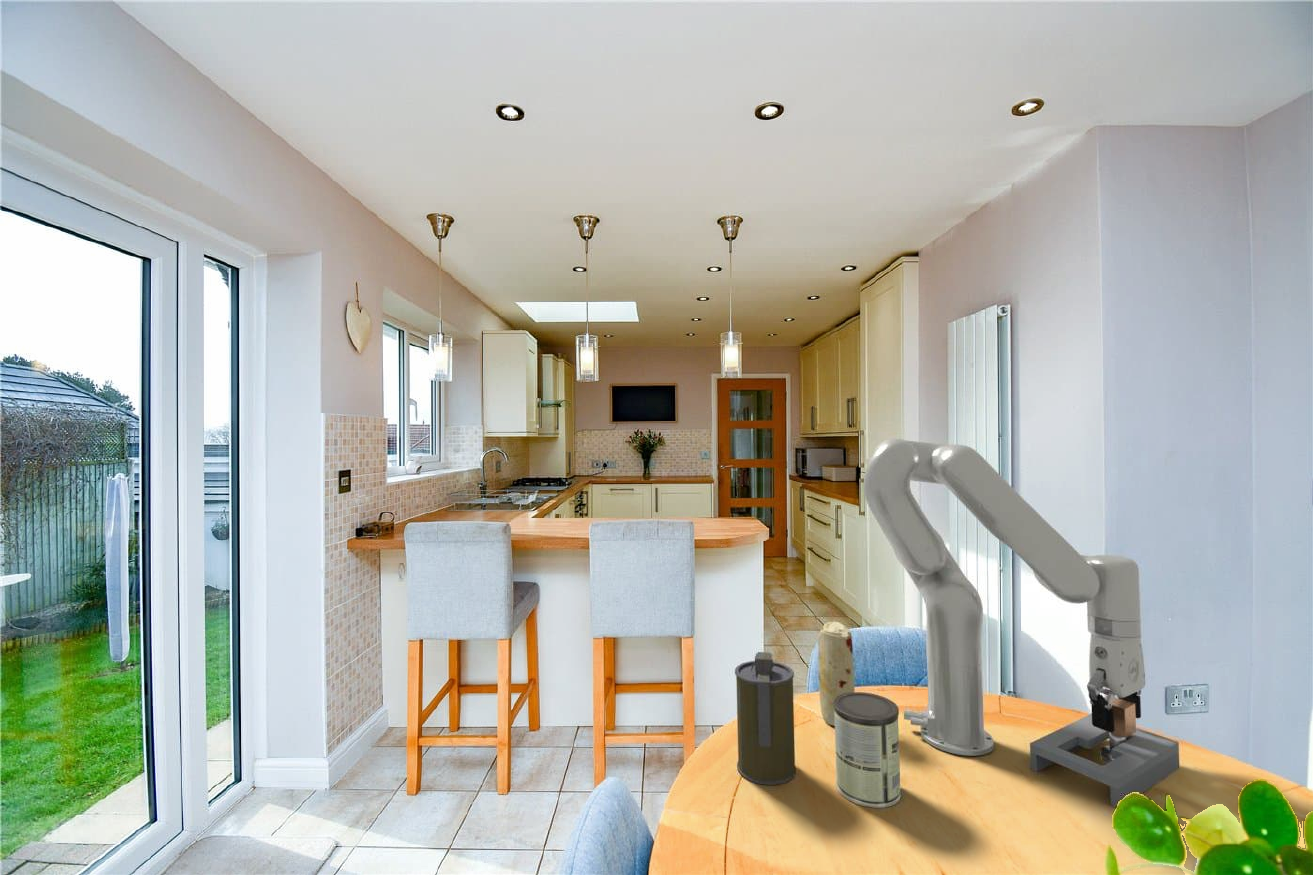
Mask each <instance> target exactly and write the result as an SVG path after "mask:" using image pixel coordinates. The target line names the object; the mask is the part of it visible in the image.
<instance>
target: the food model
mask: <svg viewBox="0 0 1313 875" xmlns="http://www.w3.org/2000/svg"><path fill="white" fill-rule="evenodd" d="M817 646H818V650H817V653H818V658H817V659H818V660H817V661H818V684H819V685H818V687H819V688H818V689H819V702H820V712H821V716H822V719H823V720H824V722H825V723H826V724H828V725H829V726H833V727H835V716H834V706H833V701H834V699H835V698H836V697H837V696H839V695H841V694H845V693H851V692H855V666H854V652H853V651H854V650H853V638H852V632H851V631H850V629H849V628H848V627H847V626H846V625H844V624H842V623H841V622H838V621H829V622H826V623H824V624H823V628H822V629H820V631H819V633H818V638H817Z"/></svg>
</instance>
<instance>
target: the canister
mask: <svg viewBox="0 0 1313 875" xmlns="http://www.w3.org/2000/svg"><path fill="white" fill-rule="evenodd" d="M734 674H735V678H736V681H735V682H736V715H737V716H736V718H737V752H738V753H737V755H738V756H737V757H738V761H737V762H736V768H737V771H738V773H739V774H740V775H741V776H742V777H743V778H745V779H746V780H748V781H750V782H753V783H756V784H759V785H766V786H781V785H782V784H786V783H789V782H790V781H791V780H793V779H794V778H795V776H796V774H797V766H796V758H795V757H796V754H795V752H796V749H795V748H796V747H795V716H794V713H795V712H794V711H795V710H794V708H795V707H794V677H795V672H794V670H793V669H792V668H791V667H790V666H788V665H786V664H784V663H780V662H777V661H774V659H773V654H771V652H766V651H765V652H764V651H762V652H761V651H758V652H756V653H755V655H754V660H749V661H746V662H742V663H740V664H739V665H737V666H736V668H734Z"/></svg>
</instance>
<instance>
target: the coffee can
mask: <svg viewBox="0 0 1313 875" xmlns="http://www.w3.org/2000/svg"><path fill="white" fill-rule="evenodd" d="M833 706H834V716H835V726H834V738H835V739H834V740H835V745H834V746H835V769H836V775H835V776H836V782H835V786H836V789H837V791H838V792H839V793H840V794H841V796H842V797H844V798H845V799H846V800H848V801H850V802H851V803H854V804H856V805H859V806H863V807H867V808H874V809H875V808H876V809H882V808H883V809H884V808H890V807H893V806H894V805H896V804H898V802H899V801H900V800H901V798H902V793H901V792H902V790H901V768H900V766H901V764H900V741H899V740H900V736H899V735H900V734H899V713H900V709H899V707H898V705H897V704H896V703H895V702H894V701H893V700H891V699H889V698H888V697H884V696H882V695H879V694H876V693H872V692H871V693H870V692H861V691H858V692H857V691H854V692H851V693H845V694H841V695H839V696H837V697H836V698H835V699H834V701H833Z"/></svg>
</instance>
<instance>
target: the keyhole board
mask: <svg viewBox="0 0 1313 875" xmlns="http://www.w3.org/2000/svg"><path fill="white" fill-rule="evenodd" d="M1107 740H1109V732H1107V731H1105V730H1102V729H1099V728H1097V727H1095V726H1093V725H1092V713H1090V714H1088V715H1086V716H1084V717H1081V718H1080V719H1077V720H1075V721H1073V722H1071V723H1069V724H1067V725H1065V726H1063V727H1060V728H1058V729H1056V730H1054V731H1053V732H1050V733H1048V734H1047V735H1044V736H1042V737H1040V738H1038V739H1036V740H1034V741H1032V742H1030V743H1029V757H1030V760H1029V761H1030V770H1031V771H1034V772H1039V771H1041V770H1043V769H1045V768H1046V767H1049V766H1050V765H1053V764H1054V763H1055V764H1058V765H1060V766H1062V767H1065V768H1067V769H1068V770H1069V769H1070V770H1071V771H1074V772H1076V773H1078V774H1081V775H1083V776H1085V777H1087V778H1090V779H1092V780H1095V781H1098V782H1099V783H1103V784H1104V785H1107V786H1109V787H1110V789H1109V790H1110V807H1111V806H1112V807H1114V808H1116V807H1117V804H1118V802H1119V801H1120V800H1122V799H1123V798H1124V797H1125V796H1126V795H1128V794H1130V793H1132V792H1139V793H1141V794H1143V793H1144V792H1146V791H1147V790H1149V789H1150V788H1152V787H1153V786H1155V785H1156V784H1158V783H1159V782H1161V781H1162V780H1164V779H1166V777H1168V776H1170V775H1171V774H1173V773H1175V772H1176V771H1177V770H1179V769H1180V744H1179V741H1178V740H1174V739H1171V738H1168V737H1166V736H1162V735H1160V734H1156V733H1154V732H1150V731H1149V730H1145V729H1142V728H1138V727H1136V732H1135V733H1133V734H1132V735H1130V736H1128V737H1127V738H1126V741H1125V742H1123V743H1122V744H1120V745H1118V746H1116V747H1114V748H1113V749H1111V758H1112V759H1114V760H1113V761H1111V762H1109V763H1106V764H1105V765H1102V764H1099V763H1096V762H1095V761H1092V760H1090V759H1087V758H1084V757H1082V756H1079V755H1076V754H1075V752H1077V751H1079V750H1081V749H1083V748H1085V749H1087V750H1091V749H1092V748H1094V747H1096V746H1098V745H1099V744H1101V743H1103V742H1105V741H1107Z"/></svg>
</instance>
